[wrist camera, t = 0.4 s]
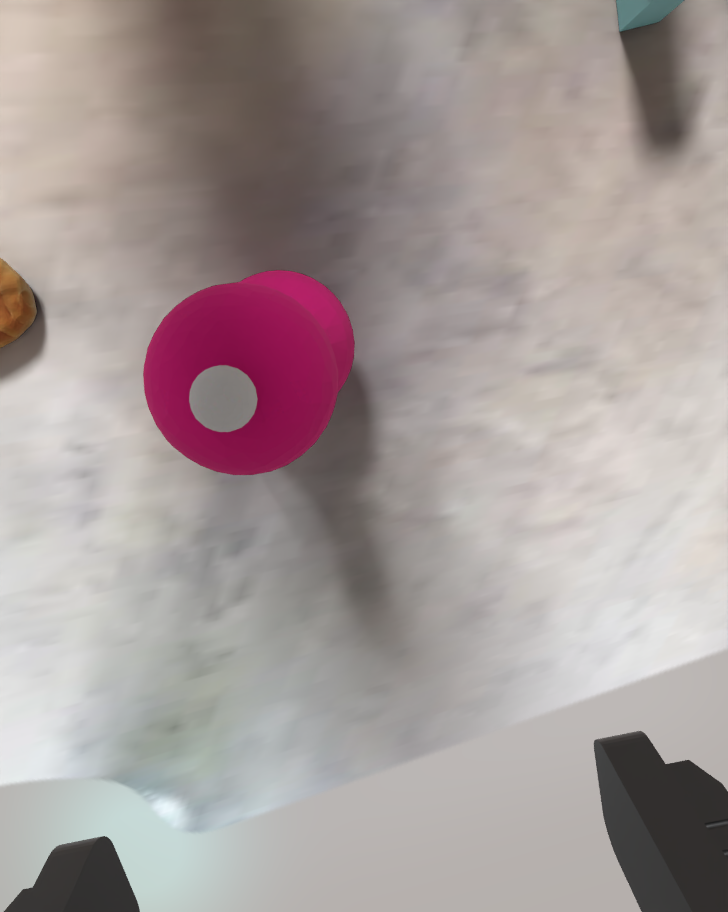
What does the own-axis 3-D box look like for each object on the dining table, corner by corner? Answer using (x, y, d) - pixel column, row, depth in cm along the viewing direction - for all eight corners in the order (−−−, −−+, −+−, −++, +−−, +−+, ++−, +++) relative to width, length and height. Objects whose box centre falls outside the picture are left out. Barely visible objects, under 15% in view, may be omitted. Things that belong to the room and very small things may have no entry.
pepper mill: (377, 314, 35) (412, 349, 16) (315, 425, 36) (278, 581, 17) (261, 246, 34) (144, 195, 15) (202, 363, 35) (27, 458, 16)
